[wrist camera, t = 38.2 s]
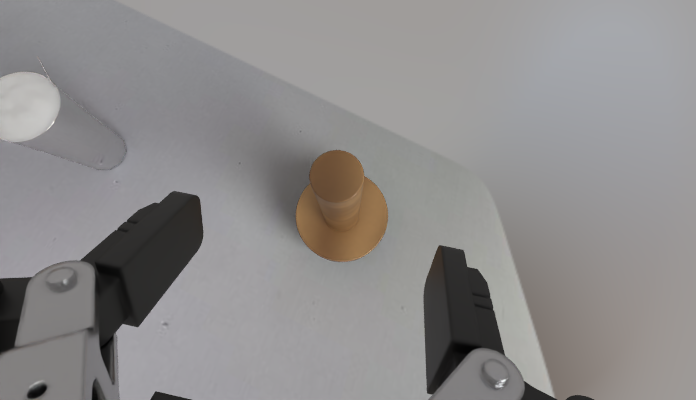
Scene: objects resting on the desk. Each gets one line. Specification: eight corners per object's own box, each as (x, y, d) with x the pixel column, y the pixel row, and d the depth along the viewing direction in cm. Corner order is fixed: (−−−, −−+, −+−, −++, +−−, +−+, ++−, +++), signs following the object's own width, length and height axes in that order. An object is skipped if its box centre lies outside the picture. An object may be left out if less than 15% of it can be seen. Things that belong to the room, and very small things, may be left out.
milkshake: (153, 150, 30) (58, 87, 20) (96, 189, 29) (-31, 143, 19) (125, 110, 31) (20, 31, 21) (69, 147, 30) (-67, 83, 20)
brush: (389, 190, 29) (419, 120, 16) (376, 270, 28) (398, 262, 15) (311, 177, 29) (280, 97, 17) (294, 255, 28) (247, 234, 15)
